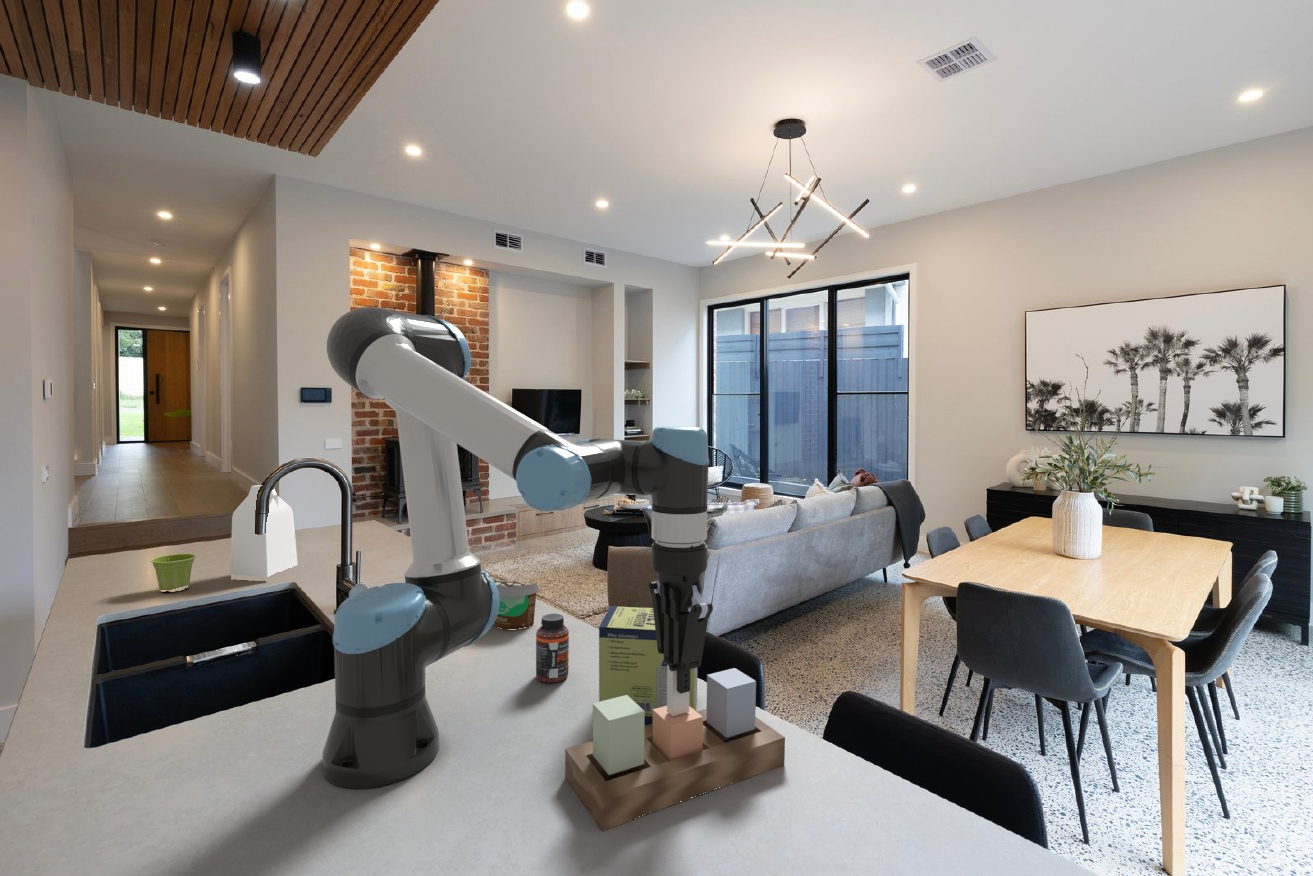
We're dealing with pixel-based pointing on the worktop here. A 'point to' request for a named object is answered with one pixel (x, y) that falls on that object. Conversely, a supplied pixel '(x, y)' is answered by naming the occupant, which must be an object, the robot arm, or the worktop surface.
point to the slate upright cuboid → (731, 702)
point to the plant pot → (173, 570)
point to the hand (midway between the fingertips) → (678, 711)
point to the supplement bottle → (552, 649)
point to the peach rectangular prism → (677, 733)
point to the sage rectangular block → (618, 734)
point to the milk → (262, 538)
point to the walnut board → (670, 772)
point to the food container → (515, 604)
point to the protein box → (634, 661)
